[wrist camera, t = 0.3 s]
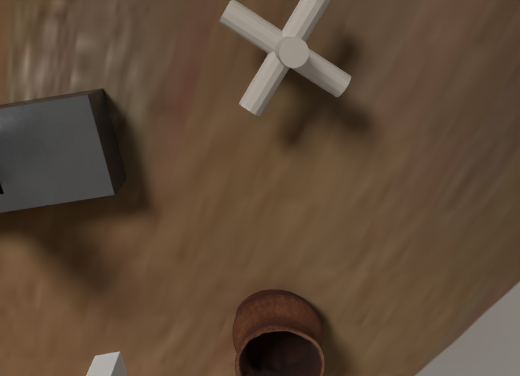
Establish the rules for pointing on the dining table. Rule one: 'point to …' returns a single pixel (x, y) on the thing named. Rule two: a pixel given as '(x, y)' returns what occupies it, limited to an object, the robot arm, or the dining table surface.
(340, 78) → the white crossed rods piece
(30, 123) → the grey block with hole
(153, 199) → the dining table surface
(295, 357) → the ceramic pot
